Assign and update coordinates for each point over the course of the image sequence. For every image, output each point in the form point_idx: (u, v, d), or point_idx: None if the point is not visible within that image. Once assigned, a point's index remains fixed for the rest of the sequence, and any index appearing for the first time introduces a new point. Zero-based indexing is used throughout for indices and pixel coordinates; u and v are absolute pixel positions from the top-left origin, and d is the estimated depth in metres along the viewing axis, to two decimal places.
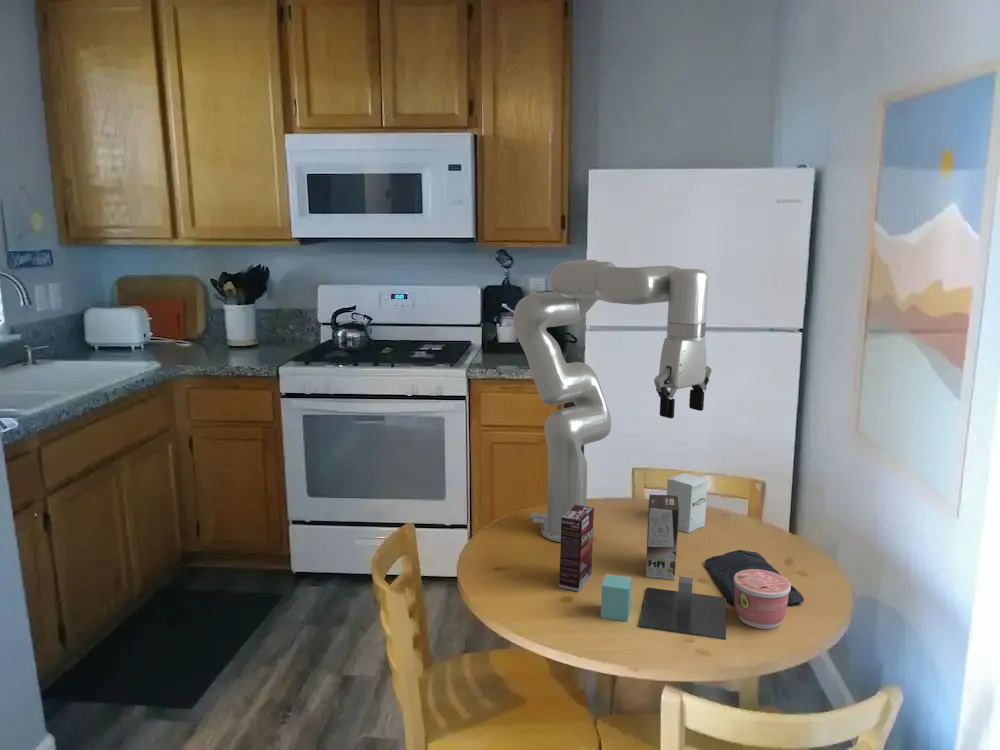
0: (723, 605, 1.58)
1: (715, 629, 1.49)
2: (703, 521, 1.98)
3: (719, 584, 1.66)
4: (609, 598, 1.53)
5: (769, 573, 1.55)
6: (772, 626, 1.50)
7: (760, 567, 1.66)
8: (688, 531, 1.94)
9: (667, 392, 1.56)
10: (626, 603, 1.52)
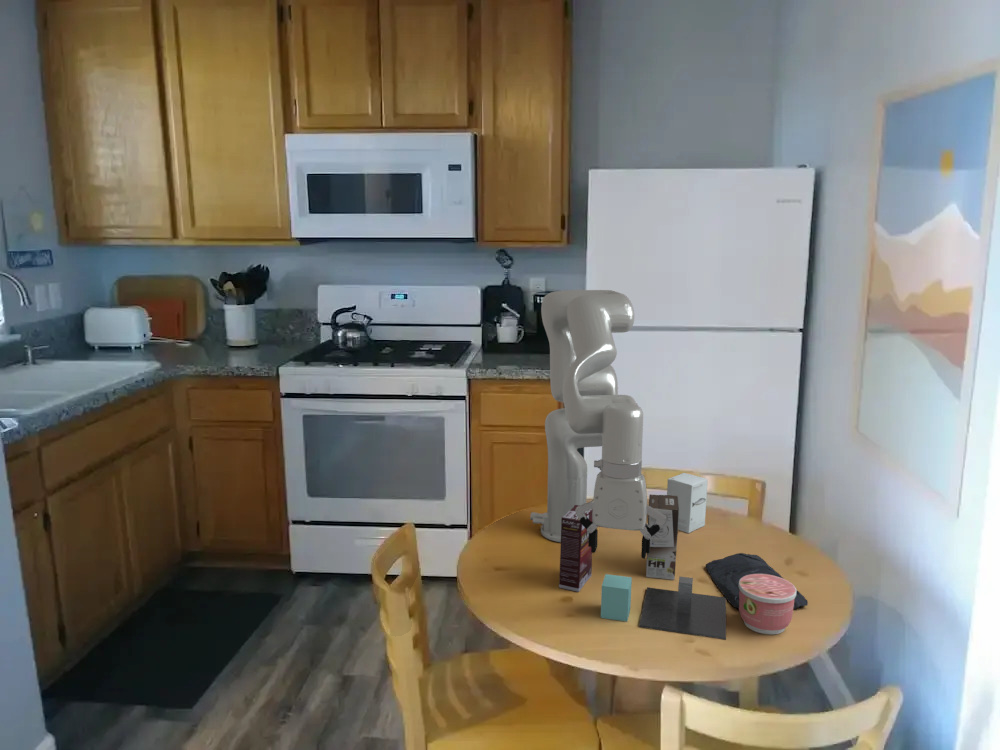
0: (723, 605, 1.58)
1: (715, 629, 1.49)
2: (703, 521, 1.98)
3: (722, 588, 1.64)
4: (609, 598, 1.53)
5: (773, 577, 1.53)
6: (778, 631, 1.48)
7: (762, 570, 1.65)
8: (688, 531, 1.94)
9: None
10: (626, 603, 1.52)
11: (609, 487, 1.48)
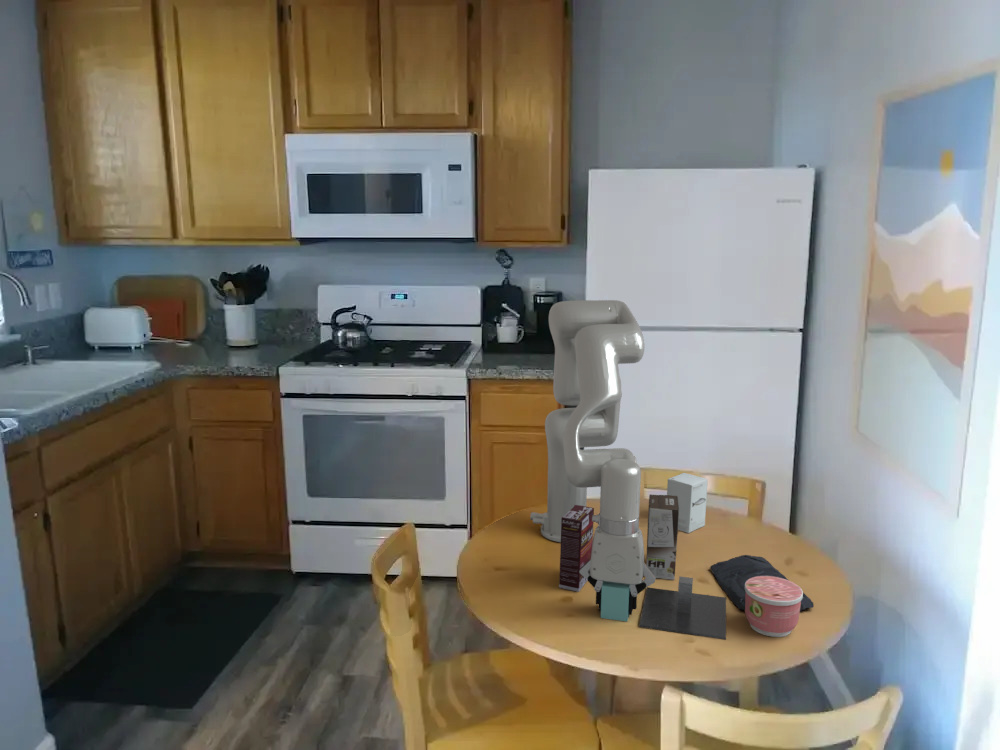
0: (723, 605, 1.58)
1: (715, 629, 1.49)
2: (703, 521, 1.98)
3: (727, 590, 1.63)
4: (609, 598, 1.53)
5: (779, 579, 1.53)
6: (785, 634, 1.48)
7: (768, 572, 1.64)
8: (688, 531, 1.94)
9: None
10: (626, 603, 1.52)
11: (607, 542, 1.50)
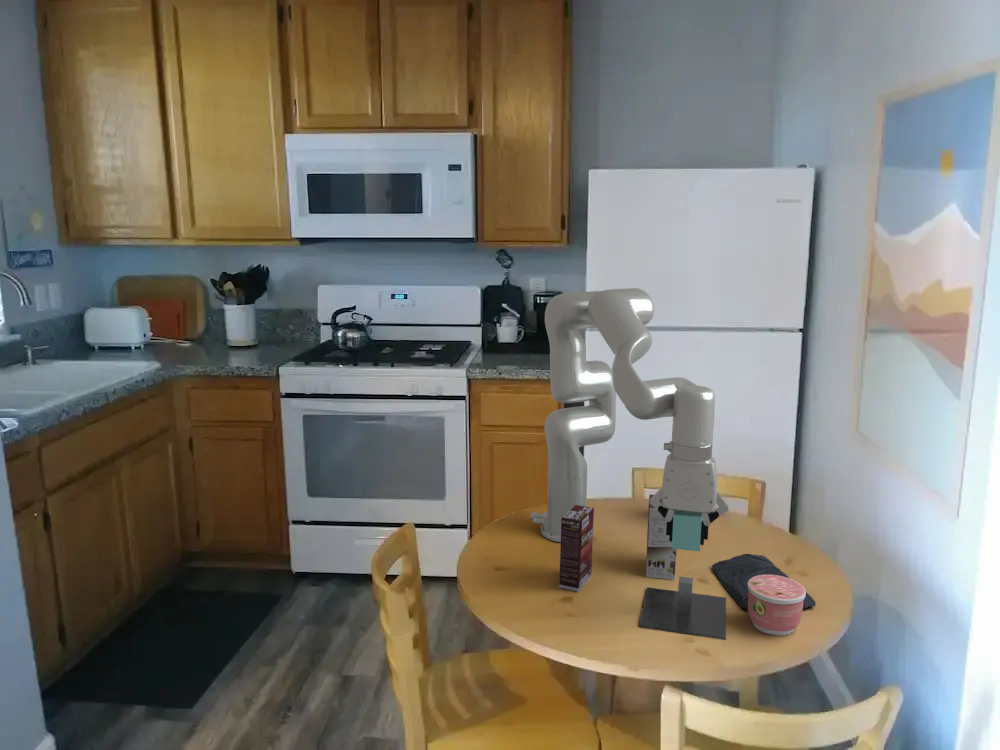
0: (723, 605, 1.58)
1: (715, 629, 1.49)
2: None
3: (729, 589, 1.64)
4: (681, 527, 1.50)
5: (782, 578, 1.53)
6: (787, 632, 1.48)
7: (770, 571, 1.64)
8: None
9: None
10: (699, 532, 1.49)
11: (680, 469, 1.48)
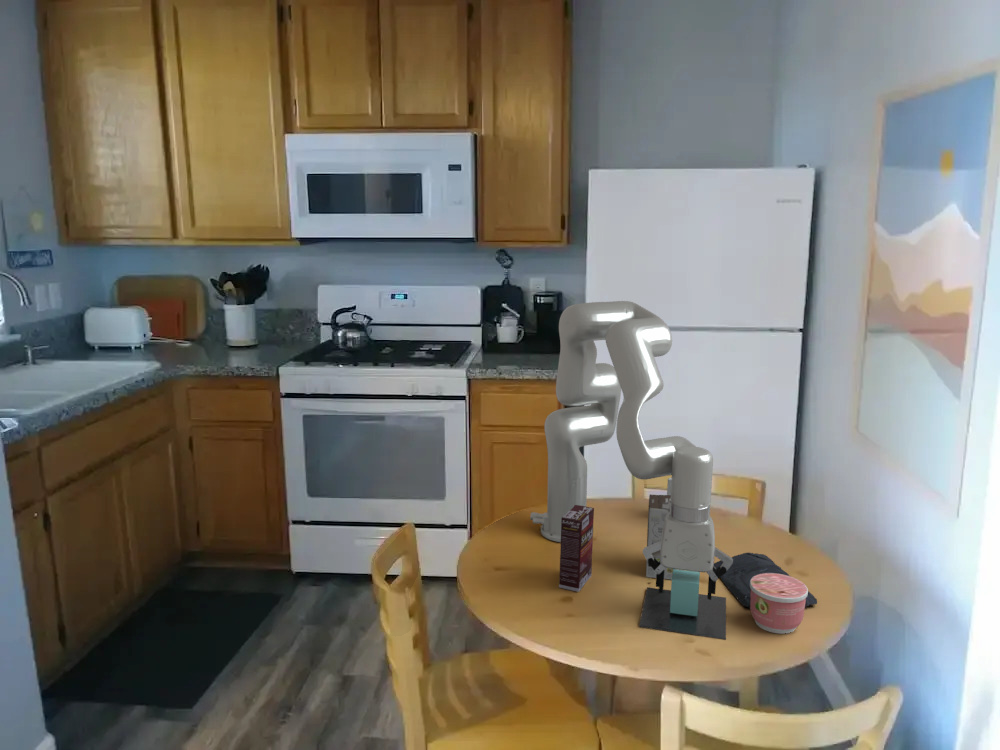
0: (723, 605, 1.58)
1: (715, 629, 1.49)
2: None
3: (731, 588, 1.64)
4: (679, 592, 1.53)
5: (784, 577, 1.54)
6: (790, 631, 1.49)
7: (771, 570, 1.65)
8: None
9: None
10: (696, 598, 1.52)
11: (678, 530, 1.50)
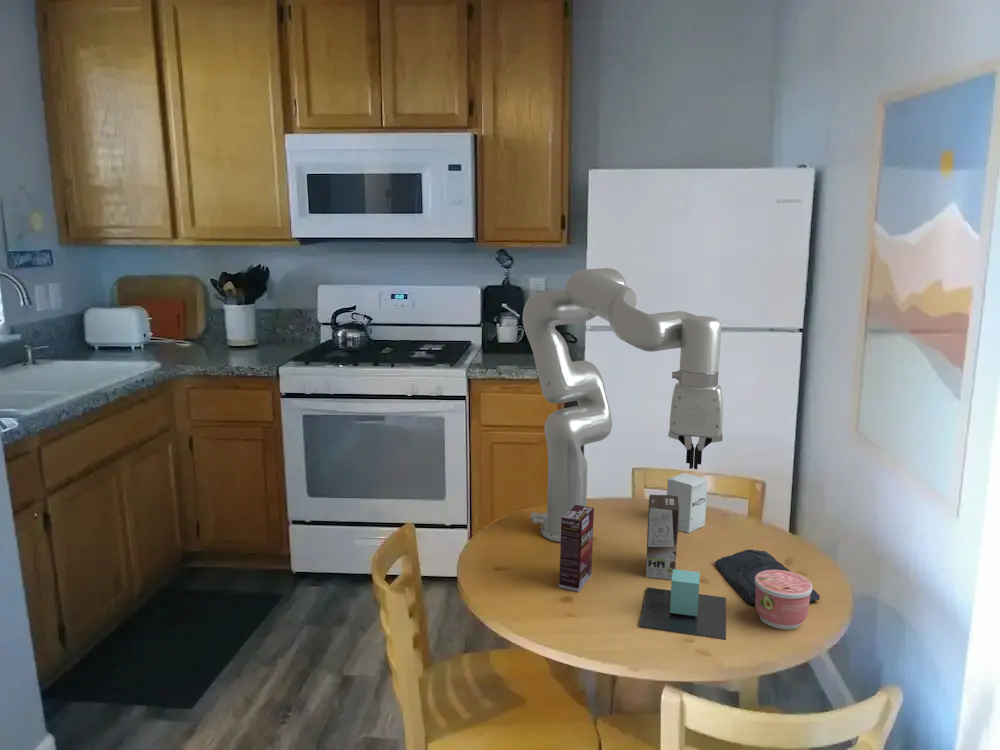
0: (723, 605, 1.58)
1: (715, 629, 1.49)
2: (703, 521, 1.98)
3: (734, 584, 1.66)
4: (679, 592, 1.53)
5: (788, 573, 1.55)
6: (795, 626, 1.50)
7: (774, 566, 1.67)
8: (688, 531, 1.94)
9: None
10: (696, 598, 1.52)
11: (687, 396, 1.55)
